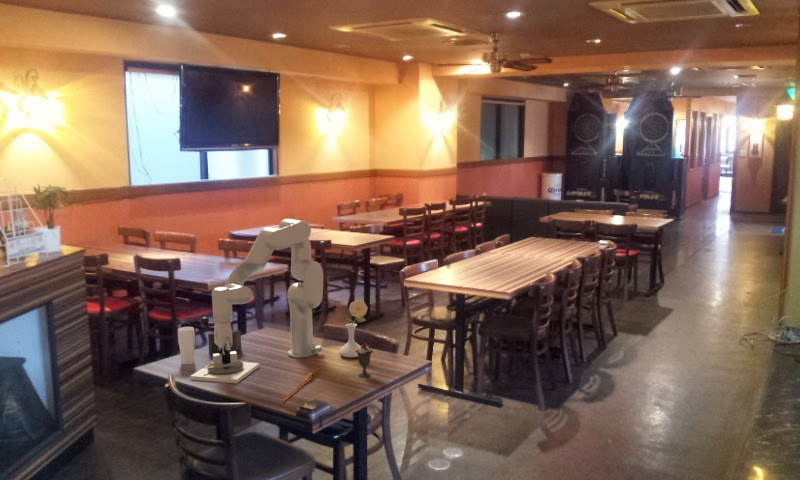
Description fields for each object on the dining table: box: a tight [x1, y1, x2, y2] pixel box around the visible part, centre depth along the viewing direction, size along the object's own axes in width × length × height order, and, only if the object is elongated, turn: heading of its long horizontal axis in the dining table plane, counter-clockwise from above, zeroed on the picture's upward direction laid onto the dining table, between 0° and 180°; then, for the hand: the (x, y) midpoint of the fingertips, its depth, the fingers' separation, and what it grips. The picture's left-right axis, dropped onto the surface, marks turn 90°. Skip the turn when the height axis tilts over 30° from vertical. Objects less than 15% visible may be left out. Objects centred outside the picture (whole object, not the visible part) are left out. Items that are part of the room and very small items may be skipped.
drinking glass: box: [177, 326, 196, 366], centre depth 289 cm, size 7×7×15 cm
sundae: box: [356, 339, 373, 378], centre depth 271 cm, size 7×7×15 cm
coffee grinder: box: [199, 316, 242, 356], centre depth 300 cm, size 16×11×18 cm
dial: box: [208, 351, 243, 374], centre depth 277 cm, size 14×14×6 cm
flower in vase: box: [338, 299, 369, 359], centre depth 296 cm, size 13×11×25 cm
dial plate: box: [190, 361, 260, 384], centre depth 277 cm, size 20×20×2 cm
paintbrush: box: [280, 366, 321, 404], centre depth 261 cm, size 1×35×3 cm, turn 164°
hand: (224, 361), depth 277 cm, fingers closed on dial, 3 cm apart
